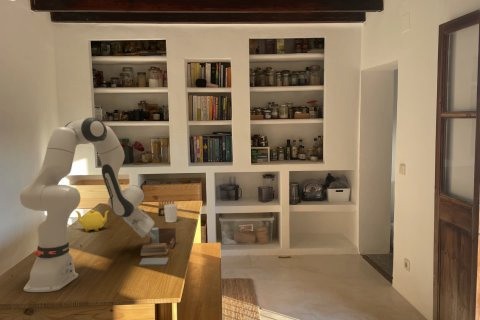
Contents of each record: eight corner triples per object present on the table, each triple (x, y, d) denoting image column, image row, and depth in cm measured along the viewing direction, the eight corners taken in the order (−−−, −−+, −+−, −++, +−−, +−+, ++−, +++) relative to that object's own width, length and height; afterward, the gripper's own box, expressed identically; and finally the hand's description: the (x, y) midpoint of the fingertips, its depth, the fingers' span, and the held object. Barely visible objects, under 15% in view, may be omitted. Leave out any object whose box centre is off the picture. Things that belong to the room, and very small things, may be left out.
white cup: (178, 219, 275) (177, 203, 274) (176, 222, 267) (176, 206, 266) (165, 219, 274) (165, 204, 273) (163, 223, 267) (163, 206, 266)
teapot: (114, 225, 263) (113, 206, 262) (107, 232, 248) (106, 212, 247) (81, 226, 263) (80, 207, 261) (72, 232, 248) (70, 213, 246)
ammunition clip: (158, 216, 285) (157, 198, 283) (158, 215, 287) (158, 197, 285) (174, 215, 285) (174, 197, 283) (175, 215, 286) (174, 197, 285)
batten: (157, 249, 215) (157, 229, 214) (151, 249, 215) (150, 230, 214) (159, 247, 219) (158, 227, 218) (153, 247, 219) (152, 227, 218)
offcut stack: (166, 255, 206) (165, 246, 205) (140, 256, 206) (140, 246, 205) (167, 252, 211) (167, 242, 211) (142, 252, 211) (142, 243, 211)
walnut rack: (173, 248, 217) (172, 232, 216) (147, 248, 216) (146, 233, 216) (176, 242, 226) (175, 227, 225) (150, 243, 226) (150, 227, 225)
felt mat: (166, 265, 193) (166, 263, 193) (139, 265, 193) (138, 264, 193) (168, 258, 201) (168, 257, 201) (142, 259, 201) (142, 258, 201)
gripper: (135, 218, 205) (156, 238, 206) (144, 208, 225) (163, 227, 226) (126, 228, 205) (147, 247, 206) (136, 217, 225) (155, 235, 227)
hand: (156, 236), depth 216 cm, fingers closed on batten, 4 cm apart
